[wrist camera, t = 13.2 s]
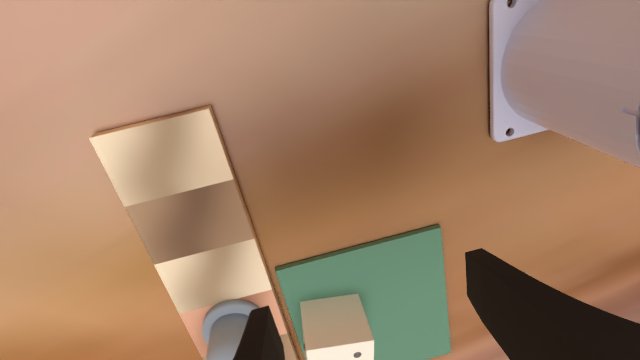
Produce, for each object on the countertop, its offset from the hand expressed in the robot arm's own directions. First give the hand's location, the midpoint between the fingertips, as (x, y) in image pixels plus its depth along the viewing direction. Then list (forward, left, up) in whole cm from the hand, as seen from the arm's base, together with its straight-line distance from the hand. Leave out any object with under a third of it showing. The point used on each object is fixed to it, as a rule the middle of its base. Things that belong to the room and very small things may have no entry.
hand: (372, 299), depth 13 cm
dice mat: (-1, +11, -10) cm, 15 cm away
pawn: (+8, +8, -9) cm, 14 cm away
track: (+8, +4, -10) cm, 13 cm away
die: (+2, +10, -10) cm, 14 cm away
